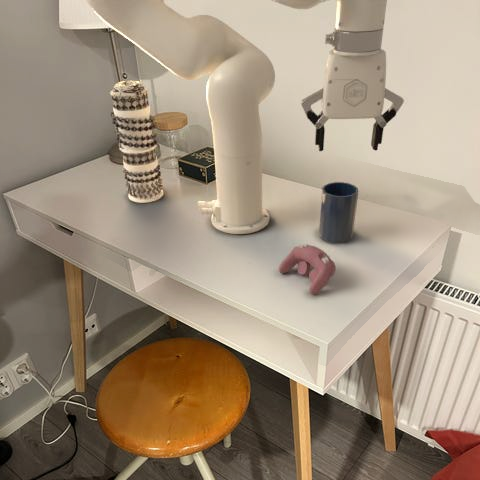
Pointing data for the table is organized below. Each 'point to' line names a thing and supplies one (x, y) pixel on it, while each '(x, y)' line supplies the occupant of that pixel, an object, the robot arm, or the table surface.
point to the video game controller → (308, 256)
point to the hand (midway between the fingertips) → (347, 148)
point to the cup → (337, 212)
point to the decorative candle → (136, 141)
